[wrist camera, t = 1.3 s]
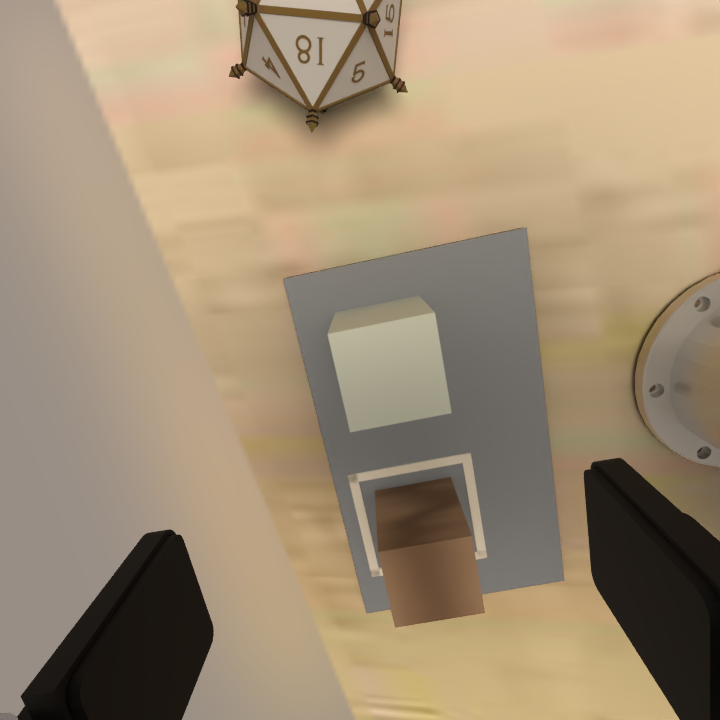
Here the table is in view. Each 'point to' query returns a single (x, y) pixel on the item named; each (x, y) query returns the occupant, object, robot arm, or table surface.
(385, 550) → the walnut block
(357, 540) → the board
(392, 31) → the game die
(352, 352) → the sage block
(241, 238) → the table surface
